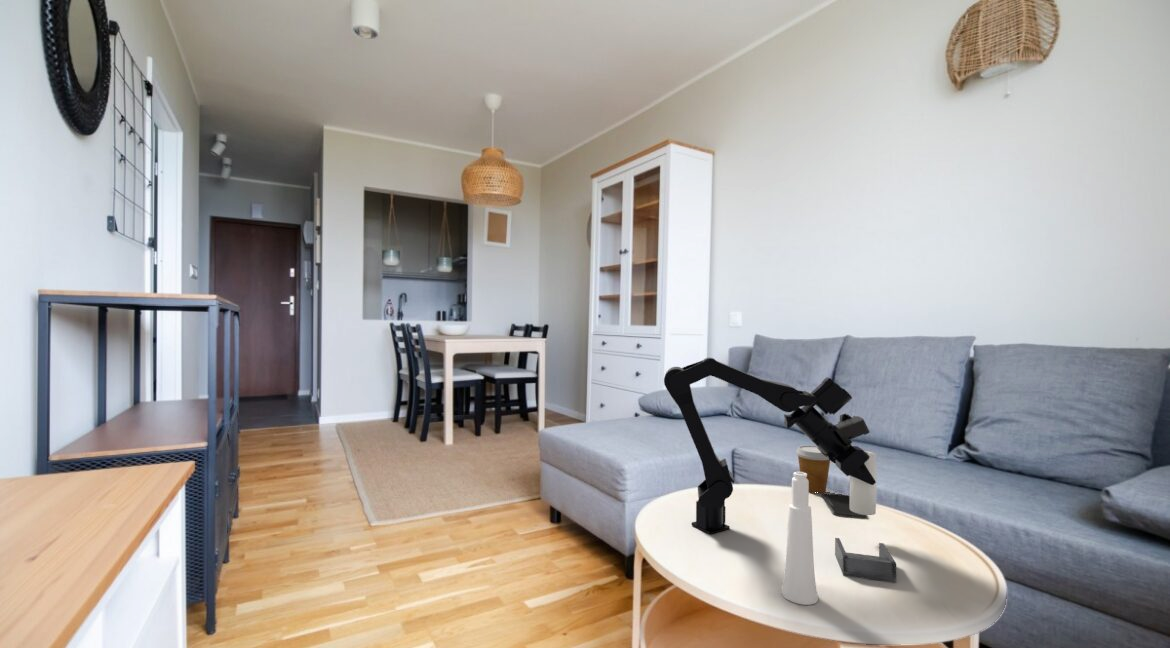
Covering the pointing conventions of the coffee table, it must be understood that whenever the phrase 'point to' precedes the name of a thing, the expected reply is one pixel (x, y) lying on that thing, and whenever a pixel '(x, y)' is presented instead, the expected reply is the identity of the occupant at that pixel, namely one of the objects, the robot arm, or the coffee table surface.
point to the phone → (840, 505)
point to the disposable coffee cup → (814, 467)
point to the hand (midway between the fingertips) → (869, 479)
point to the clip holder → (866, 564)
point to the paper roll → (864, 490)
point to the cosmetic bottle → (800, 546)
